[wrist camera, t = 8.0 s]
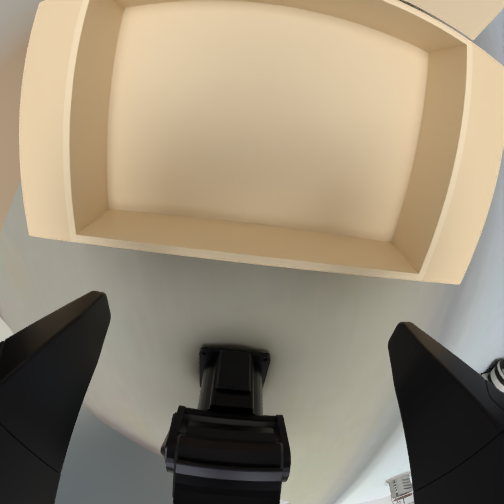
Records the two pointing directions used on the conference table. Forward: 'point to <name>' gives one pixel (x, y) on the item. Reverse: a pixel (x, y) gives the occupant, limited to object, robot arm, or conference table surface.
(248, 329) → the conference table surface
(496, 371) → the camera
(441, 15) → the kraft flap
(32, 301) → the conference table surface
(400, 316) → the conference table surface
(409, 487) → the french press
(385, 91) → the carton
